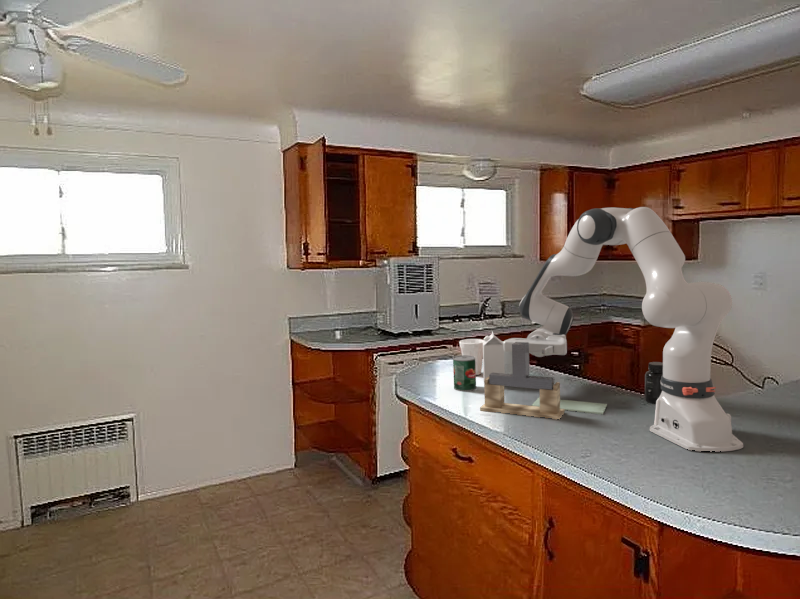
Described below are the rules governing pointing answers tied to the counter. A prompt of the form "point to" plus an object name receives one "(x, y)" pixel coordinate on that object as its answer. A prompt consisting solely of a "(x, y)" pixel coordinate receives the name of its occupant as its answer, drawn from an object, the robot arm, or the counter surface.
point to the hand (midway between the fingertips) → (528, 351)
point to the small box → (508, 362)
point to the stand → (546, 409)
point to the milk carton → (493, 355)
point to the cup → (473, 351)
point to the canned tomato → (464, 373)
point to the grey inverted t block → (521, 371)
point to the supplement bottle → (653, 382)
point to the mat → (578, 406)
